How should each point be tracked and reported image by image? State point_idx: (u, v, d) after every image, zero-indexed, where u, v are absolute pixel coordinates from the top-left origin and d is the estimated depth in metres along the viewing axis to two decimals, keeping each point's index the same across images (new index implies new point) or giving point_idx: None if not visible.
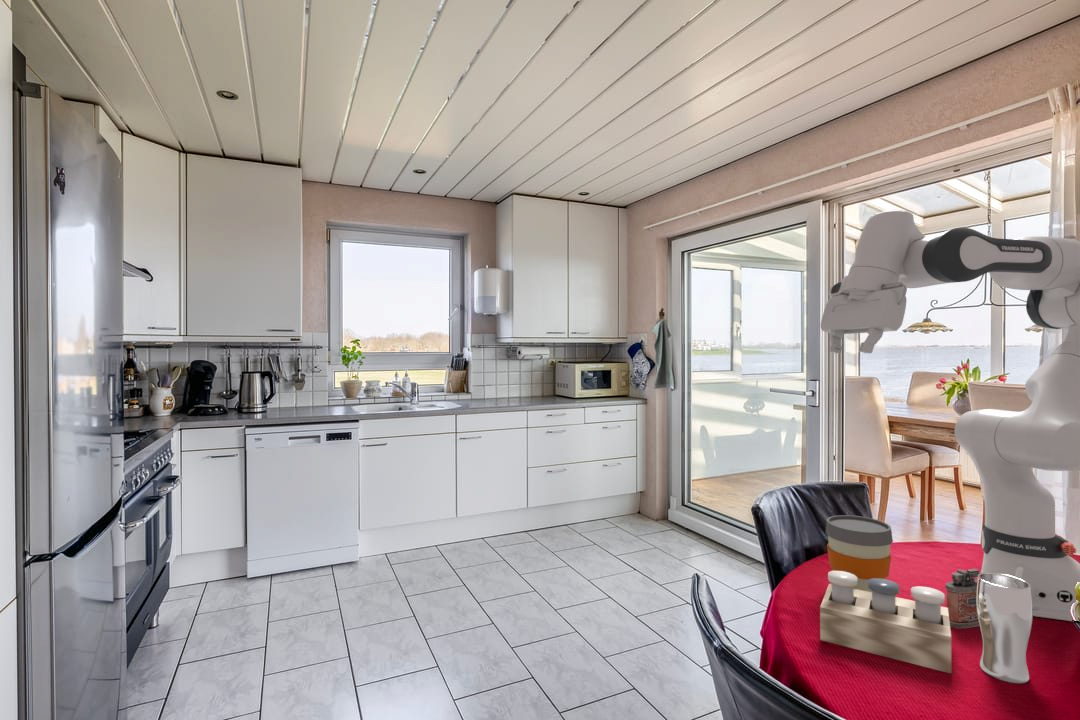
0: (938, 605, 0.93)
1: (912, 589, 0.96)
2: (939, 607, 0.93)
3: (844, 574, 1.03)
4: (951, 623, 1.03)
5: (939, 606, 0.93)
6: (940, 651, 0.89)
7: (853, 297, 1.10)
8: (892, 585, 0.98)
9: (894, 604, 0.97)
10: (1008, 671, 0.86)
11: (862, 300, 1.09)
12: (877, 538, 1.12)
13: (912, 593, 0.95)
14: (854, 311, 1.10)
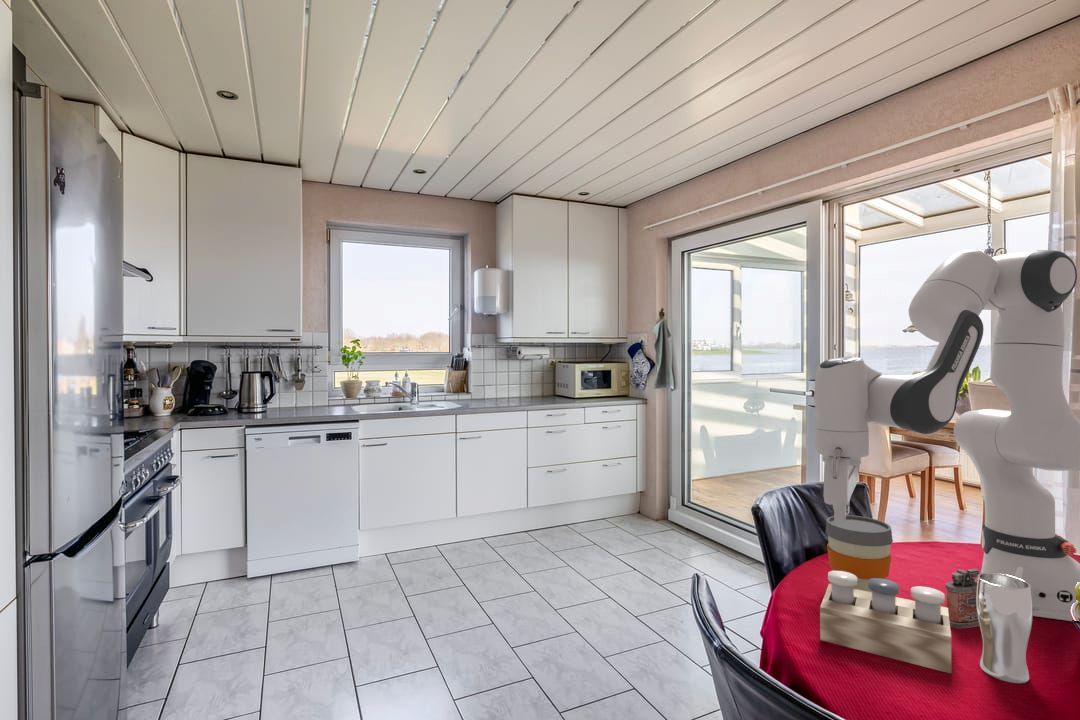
0: (938, 605, 0.93)
1: (912, 589, 0.96)
2: (939, 607, 0.93)
3: (844, 574, 1.03)
4: (951, 623, 1.03)
5: (939, 606, 0.93)
6: (940, 651, 0.89)
7: (822, 460, 1.03)
8: (892, 585, 0.98)
9: (894, 604, 0.97)
10: (1008, 671, 0.86)
11: None
12: (877, 538, 1.12)
13: (912, 593, 0.95)
14: None
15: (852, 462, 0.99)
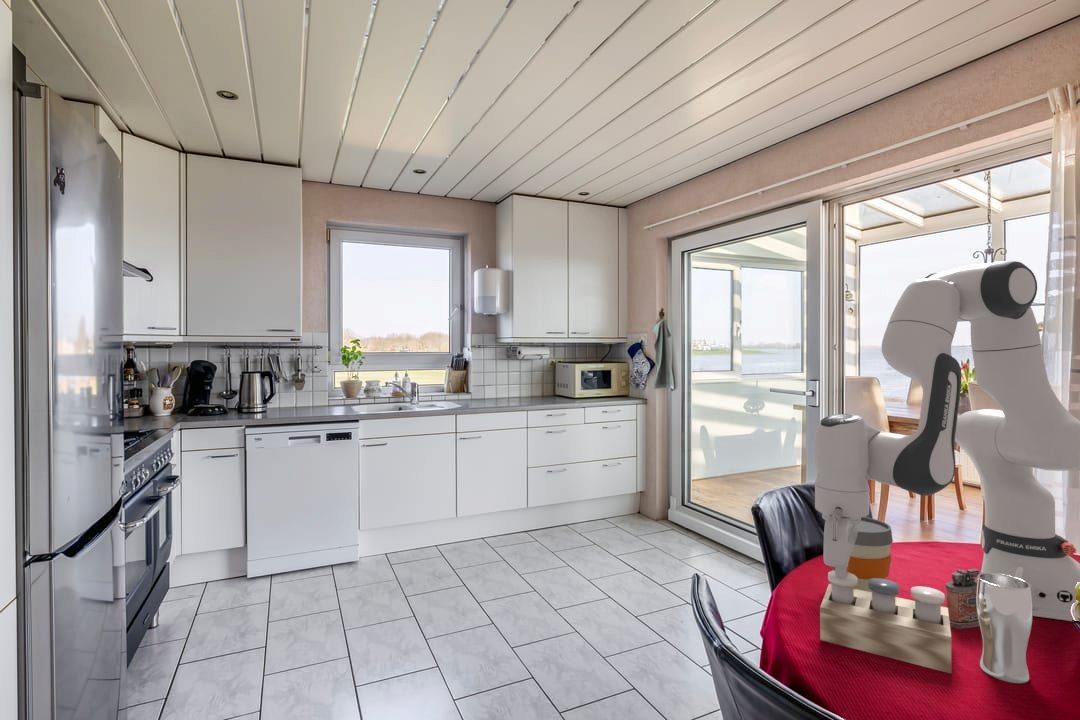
0: (938, 605, 0.93)
1: (912, 589, 0.96)
2: (939, 607, 0.93)
3: None
4: (951, 623, 1.03)
5: (939, 606, 0.93)
6: (940, 651, 0.89)
7: None
8: (892, 585, 0.98)
9: (894, 604, 0.97)
10: (1008, 671, 0.86)
11: None
12: (877, 538, 1.12)
13: (912, 593, 0.95)
14: None
15: (852, 521, 0.99)
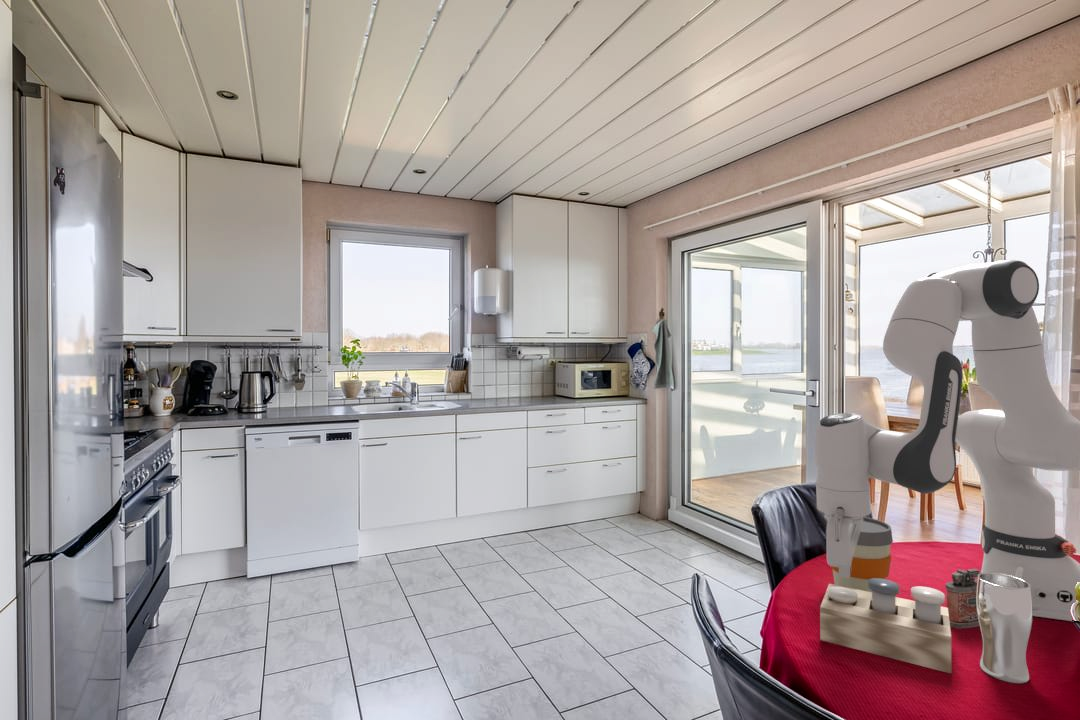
0: (938, 605, 0.93)
1: (912, 589, 0.96)
2: (939, 607, 0.93)
3: (844, 590, 1.03)
4: (951, 623, 1.03)
5: (939, 606, 0.93)
6: (940, 651, 0.89)
7: (825, 516, 1.03)
8: (892, 585, 0.98)
9: (894, 604, 0.97)
10: (1008, 671, 0.86)
11: None
12: (877, 538, 1.12)
13: (912, 593, 0.95)
14: None
15: (854, 521, 0.99)
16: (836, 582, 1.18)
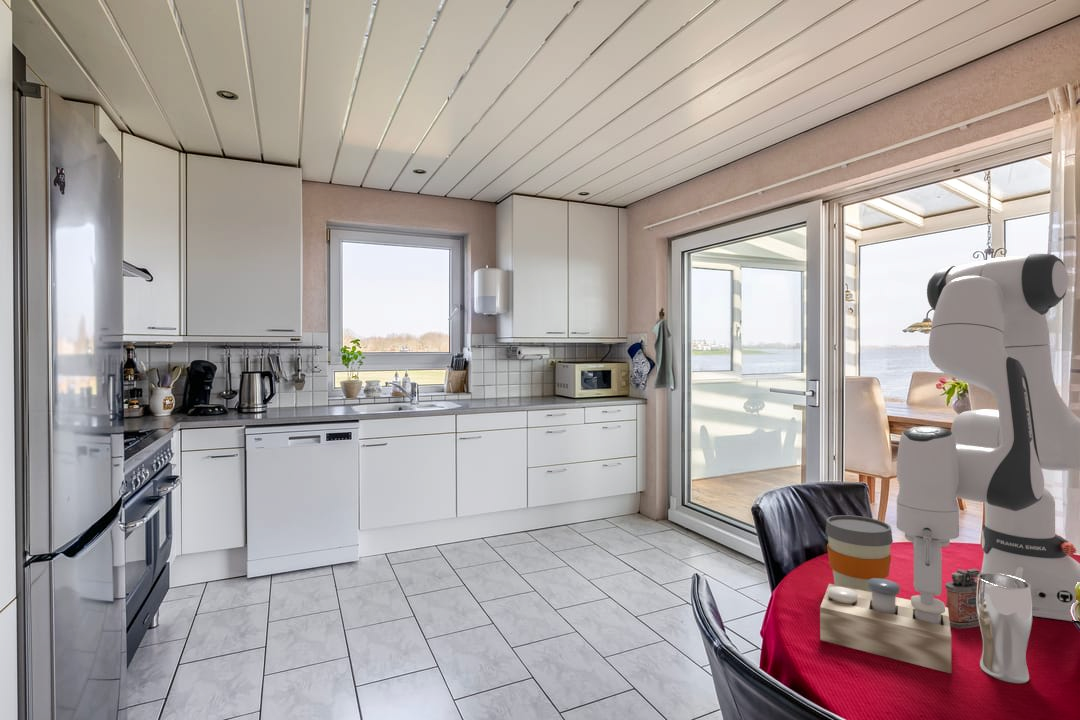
0: (938, 614, 0.93)
1: (912, 598, 0.96)
2: (939, 616, 0.93)
3: (844, 590, 1.03)
4: (951, 623, 1.03)
5: (939, 615, 0.93)
6: (940, 651, 0.89)
7: (905, 537, 0.96)
8: (892, 585, 0.98)
9: (894, 604, 0.97)
10: (1008, 671, 0.86)
11: (914, 542, 0.94)
12: (877, 538, 1.12)
13: (912, 602, 0.95)
14: None
15: (941, 543, 0.91)
16: (836, 582, 1.18)
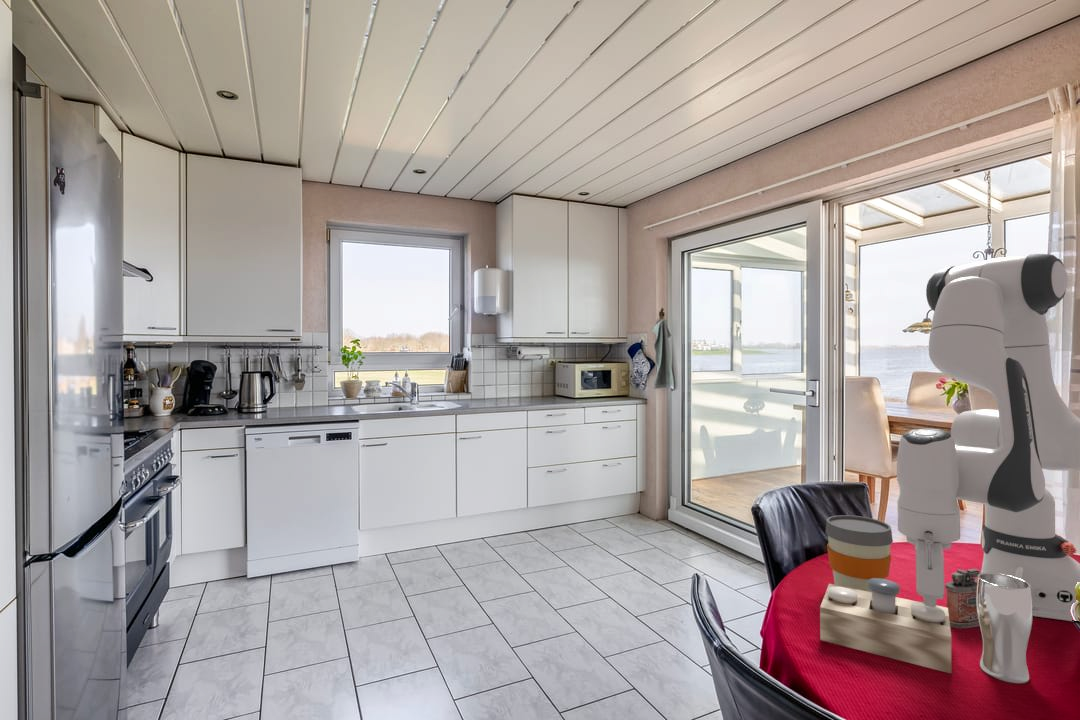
0: (938, 623, 0.93)
1: (912, 606, 0.96)
2: None
3: (844, 590, 1.03)
4: (951, 623, 1.03)
5: None
6: (940, 651, 0.89)
7: (907, 540, 0.96)
8: (892, 585, 0.98)
9: (894, 604, 0.97)
10: (1008, 671, 0.86)
11: (915, 545, 0.94)
12: (877, 538, 1.12)
13: (912, 610, 0.95)
14: None
15: (943, 546, 0.92)
16: (836, 582, 1.18)
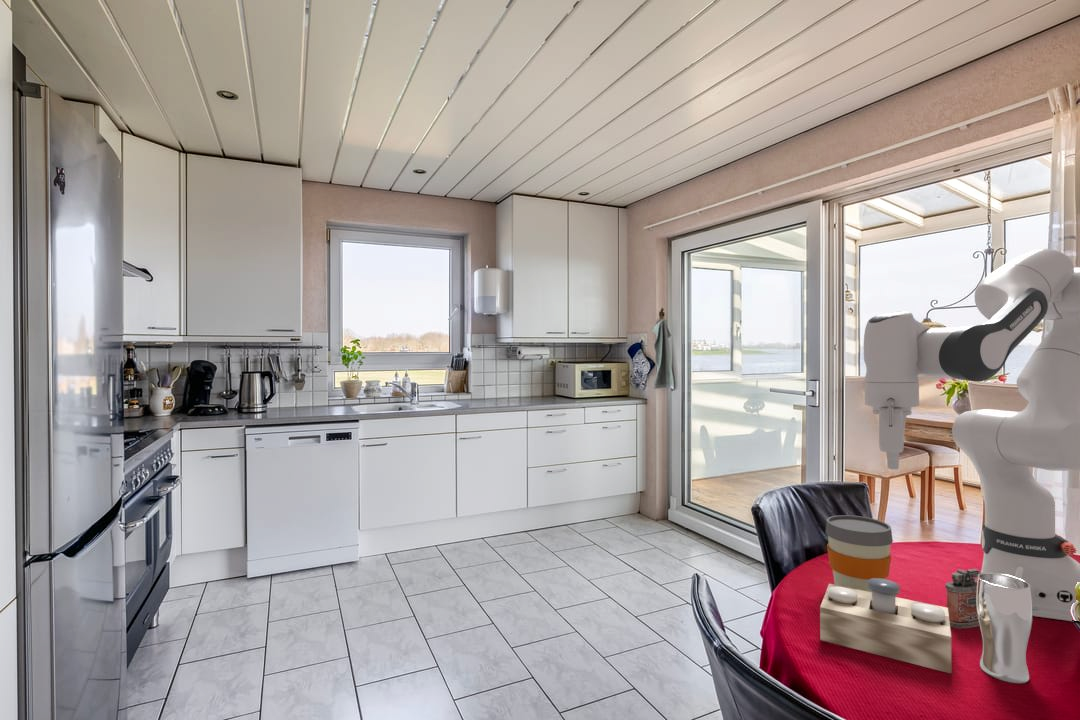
0: (938, 623, 0.93)
1: (912, 606, 0.96)
2: None
3: (844, 590, 1.03)
4: (951, 623, 1.03)
5: None
6: (940, 651, 0.89)
7: (873, 412, 1.07)
8: (892, 585, 0.98)
9: (894, 604, 0.97)
10: (1008, 671, 0.86)
11: None
12: (877, 538, 1.12)
13: (912, 610, 0.95)
14: None
15: (904, 412, 1.02)
16: (836, 582, 1.18)
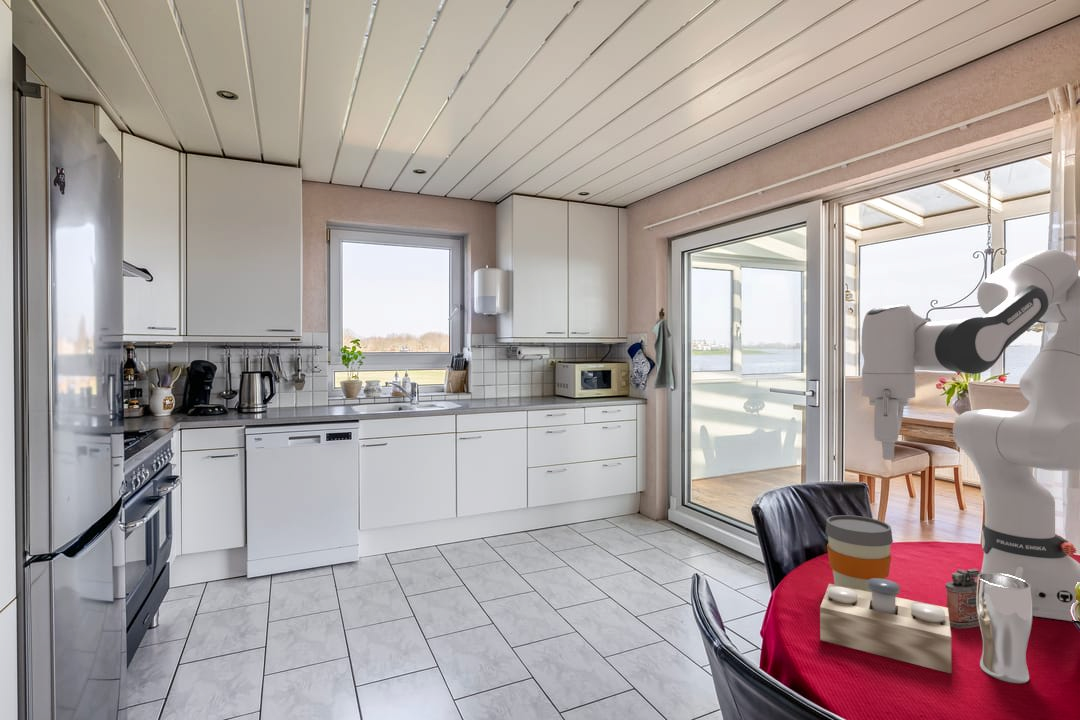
0: (938, 623, 0.93)
1: (912, 606, 0.96)
2: None
3: (844, 590, 1.03)
4: (951, 623, 1.03)
5: None
6: (940, 651, 0.89)
7: (869, 403, 1.08)
8: (892, 585, 0.98)
9: (894, 604, 0.97)
10: (1008, 671, 0.86)
11: None
12: (877, 538, 1.12)
13: (912, 610, 0.95)
14: None
15: (900, 403, 1.04)
16: (836, 582, 1.18)
